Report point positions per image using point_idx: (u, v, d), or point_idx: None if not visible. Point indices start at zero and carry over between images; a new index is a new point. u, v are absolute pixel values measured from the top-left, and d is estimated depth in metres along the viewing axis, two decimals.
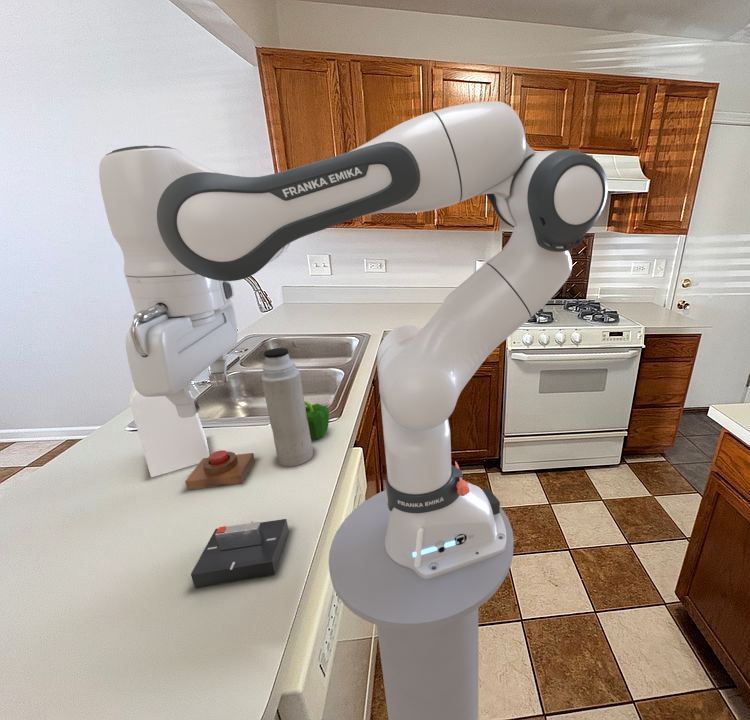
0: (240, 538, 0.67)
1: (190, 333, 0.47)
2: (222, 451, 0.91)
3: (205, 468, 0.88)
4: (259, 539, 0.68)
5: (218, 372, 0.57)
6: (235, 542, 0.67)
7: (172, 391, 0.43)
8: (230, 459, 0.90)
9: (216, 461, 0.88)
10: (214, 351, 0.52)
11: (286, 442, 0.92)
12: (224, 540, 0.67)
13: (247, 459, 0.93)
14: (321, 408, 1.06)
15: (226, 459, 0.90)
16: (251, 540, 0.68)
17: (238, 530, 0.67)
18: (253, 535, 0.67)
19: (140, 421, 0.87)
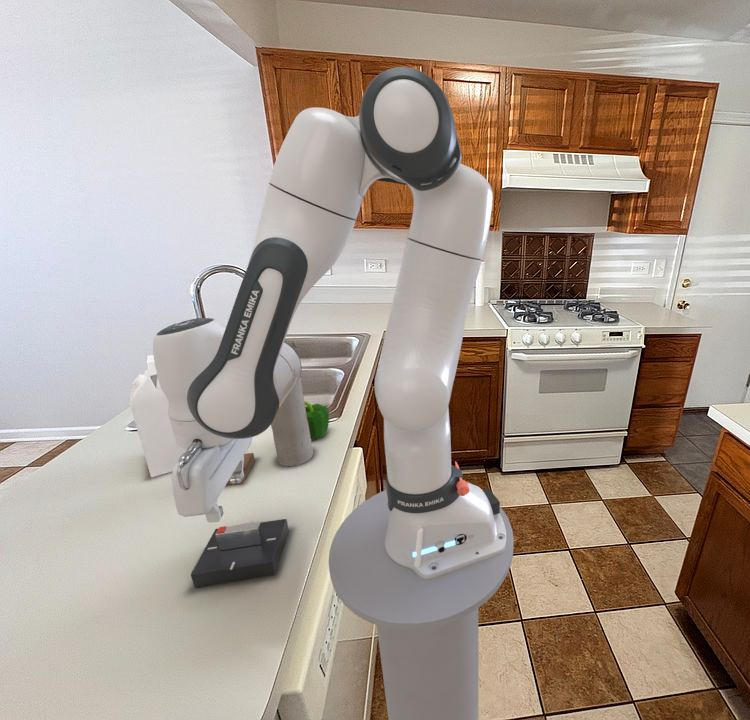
0: (240, 538, 0.67)
1: (218, 456, 0.59)
2: None
3: None
4: (259, 539, 0.68)
5: (236, 471, 0.69)
6: (235, 542, 0.67)
7: (205, 512, 0.55)
8: None
9: None
10: (235, 461, 0.64)
11: (286, 442, 0.92)
12: (224, 540, 0.67)
13: (247, 459, 0.93)
14: (321, 408, 1.06)
15: None
16: (251, 540, 0.68)
17: (238, 530, 0.67)
18: (253, 535, 0.67)
19: (140, 421, 0.87)
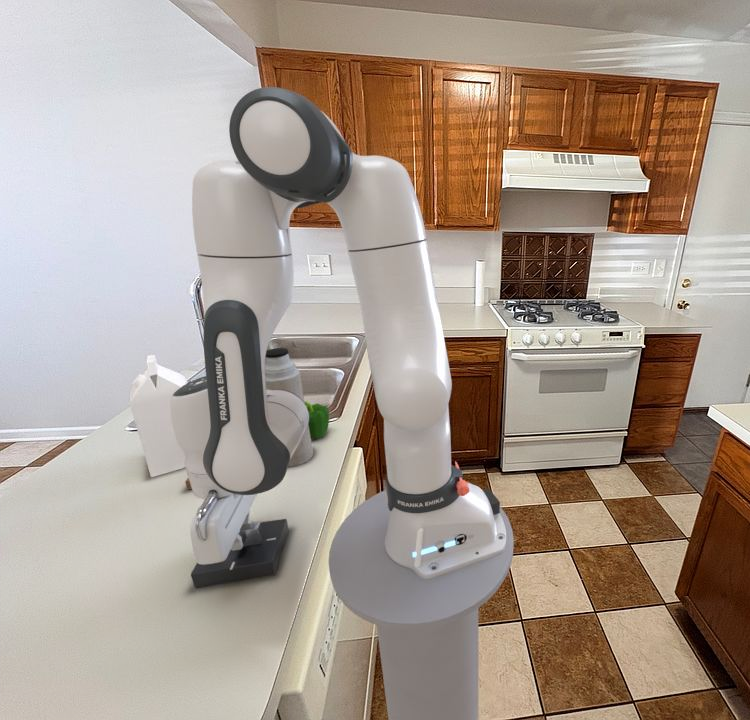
0: None
1: (232, 503, 0.62)
2: None
3: None
4: (259, 539, 0.68)
5: None
6: None
7: (222, 560, 0.58)
8: None
9: None
10: (248, 505, 0.68)
11: None
12: None
13: None
14: (321, 408, 1.06)
15: None
16: (251, 540, 0.68)
17: None
18: (253, 535, 0.67)
19: (140, 421, 0.87)
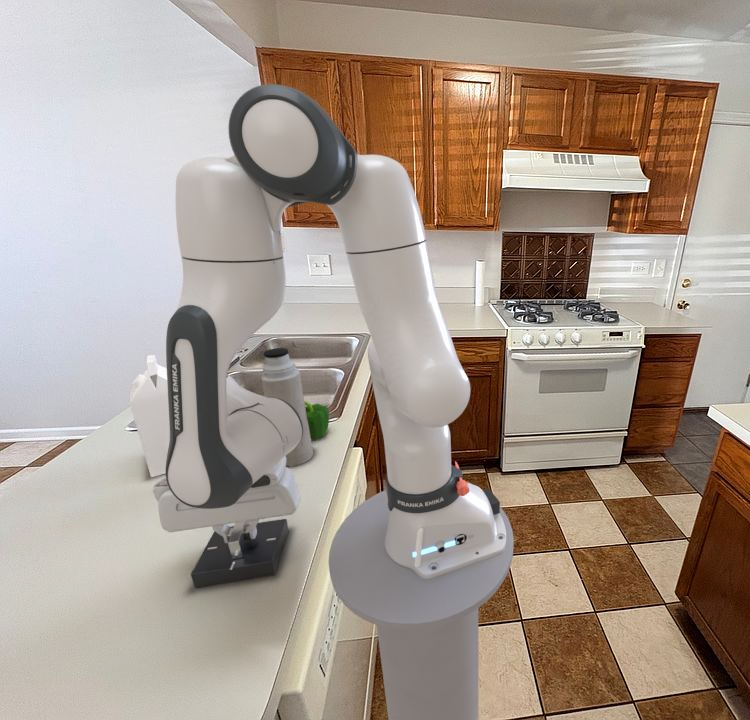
0: None
1: None
2: None
3: None
4: (231, 554, 0.65)
5: (249, 529, 0.68)
6: None
7: (166, 530, 0.63)
8: None
9: None
10: (238, 516, 0.65)
11: None
12: None
13: None
14: (321, 408, 1.06)
15: None
16: None
17: (233, 530, 0.67)
18: None
19: (140, 421, 0.87)
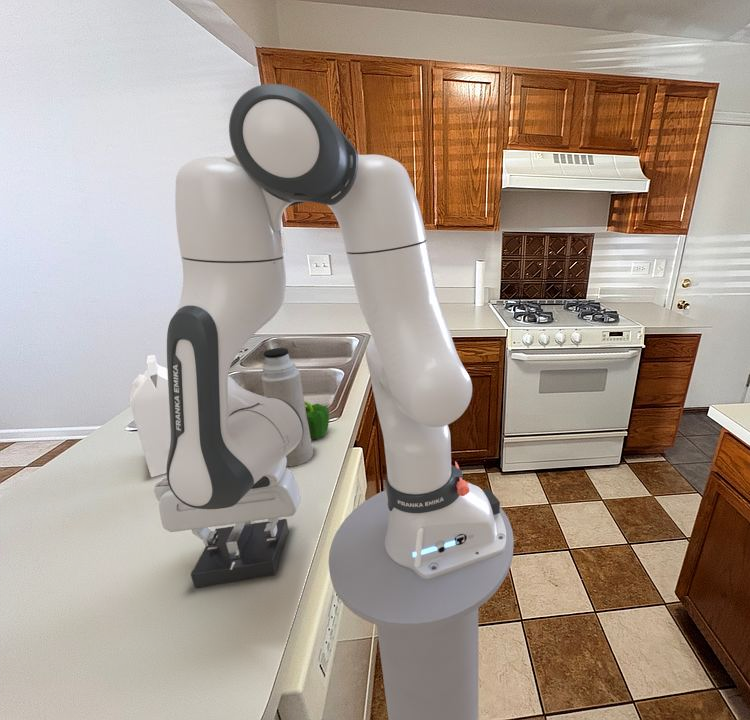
0: None
1: None
2: None
3: None
4: (229, 554, 0.65)
5: (269, 526, 0.69)
6: None
7: (167, 529, 0.63)
8: None
9: None
10: (238, 517, 0.65)
11: None
12: None
13: None
14: (321, 408, 1.06)
15: None
16: None
17: (233, 529, 0.67)
18: None
19: (140, 421, 0.87)
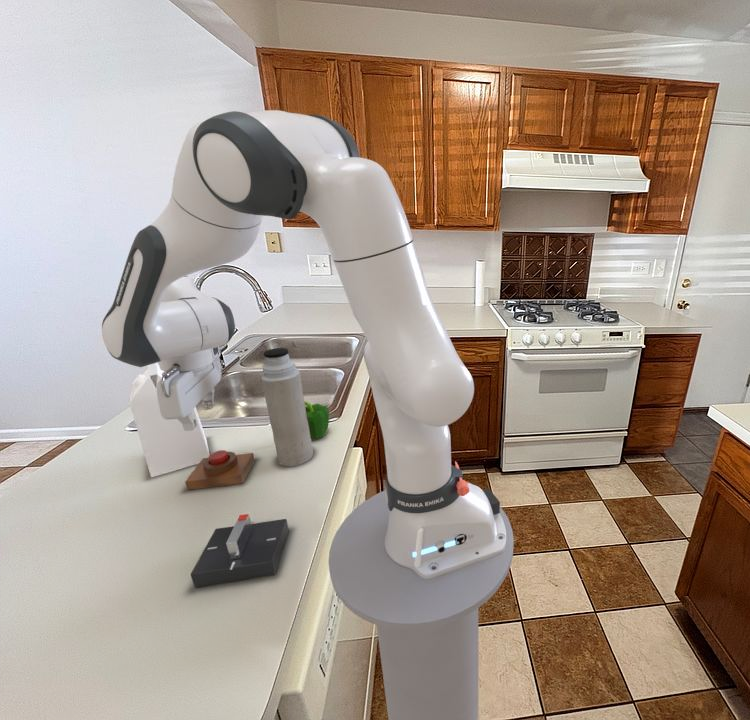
0: None
1: (192, 380, 0.78)
2: (222, 451, 0.91)
3: (205, 468, 0.88)
4: (229, 554, 0.65)
5: (208, 400, 0.88)
6: None
7: (182, 416, 0.74)
8: (230, 459, 0.90)
9: (216, 461, 0.88)
10: (206, 388, 0.83)
11: (286, 442, 0.92)
12: None
13: (247, 459, 0.93)
14: (321, 408, 1.06)
15: (226, 459, 0.90)
16: None
17: (233, 529, 0.67)
18: None
19: (140, 421, 0.87)
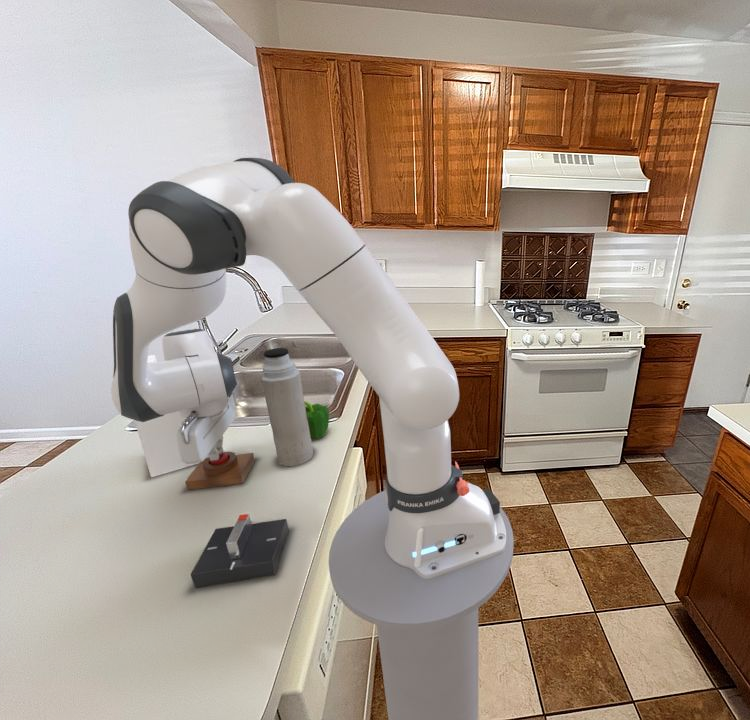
0: None
1: (209, 424, 0.84)
2: (222, 453, 0.91)
3: (205, 468, 0.88)
4: (229, 554, 0.65)
5: (217, 447, 0.90)
6: None
7: (200, 460, 0.80)
8: (230, 459, 0.90)
9: (217, 463, 0.89)
10: (222, 429, 0.89)
11: (286, 442, 0.92)
12: None
13: (247, 459, 0.93)
14: (321, 408, 1.06)
15: None
16: None
17: (233, 529, 0.67)
18: None
19: None
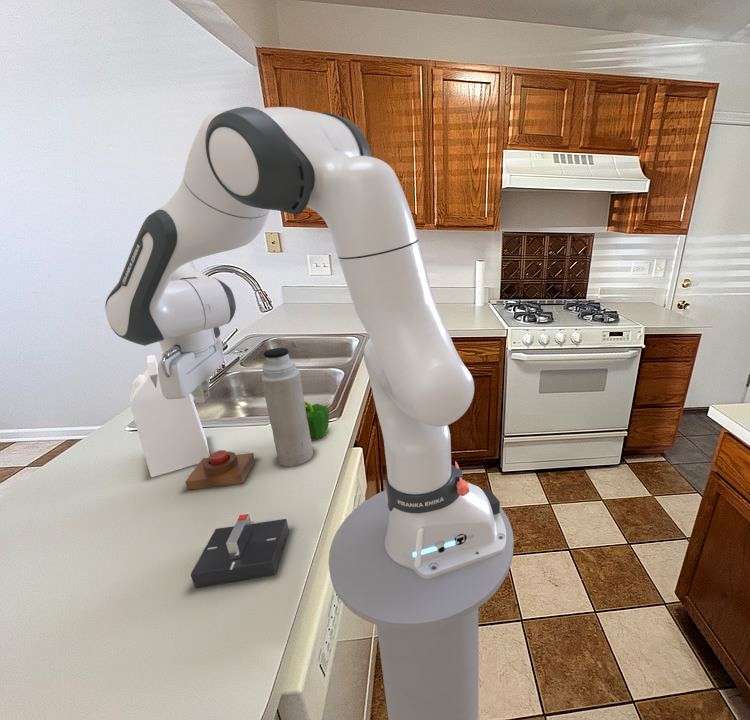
0: None
1: (193, 361, 0.79)
2: (222, 451, 0.91)
3: (205, 468, 0.88)
4: (229, 554, 0.65)
5: (203, 390, 0.85)
6: None
7: (183, 396, 0.75)
8: (230, 459, 0.90)
9: (216, 461, 0.88)
10: (208, 370, 0.84)
11: (286, 442, 0.92)
12: None
13: (247, 459, 0.93)
14: (321, 408, 1.06)
15: (226, 459, 0.90)
16: None
17: (233, 529, 0.67)
18: None
19: (140, 421, 0.87)
